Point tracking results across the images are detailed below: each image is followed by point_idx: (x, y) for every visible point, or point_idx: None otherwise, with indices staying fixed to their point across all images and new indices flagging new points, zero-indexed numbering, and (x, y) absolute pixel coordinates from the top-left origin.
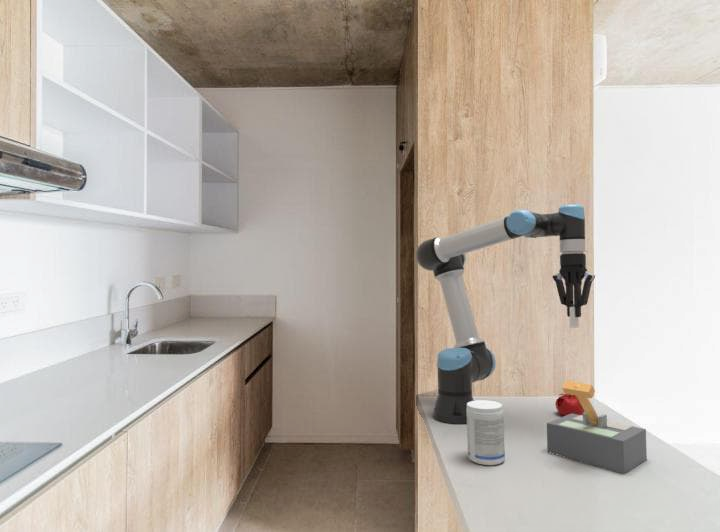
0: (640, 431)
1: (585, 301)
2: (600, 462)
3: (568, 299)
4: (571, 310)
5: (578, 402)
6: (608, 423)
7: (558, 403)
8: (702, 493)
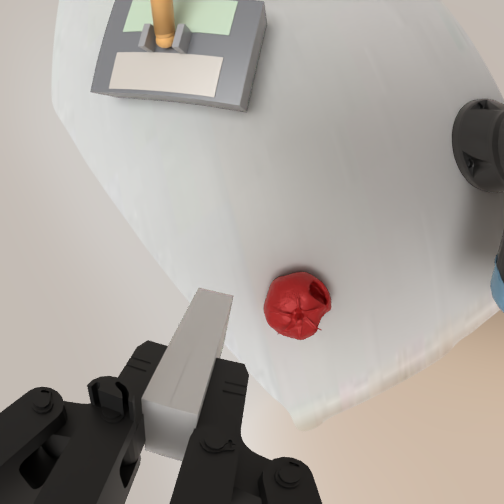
0: (95, 70)
1: (41, 446)
2: None
3: (192, 501)
4: (185, 382)
5: (275, 296)
6: (148, 72)
7: (323, 299)
8: (62, 34)
